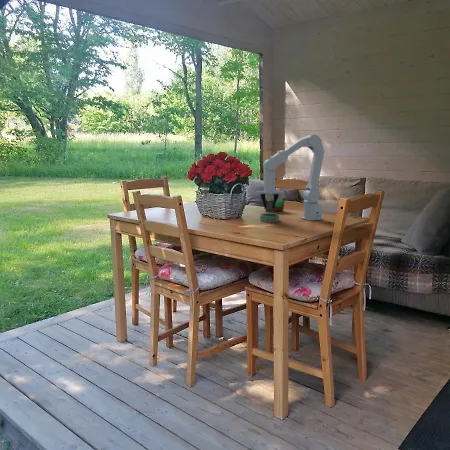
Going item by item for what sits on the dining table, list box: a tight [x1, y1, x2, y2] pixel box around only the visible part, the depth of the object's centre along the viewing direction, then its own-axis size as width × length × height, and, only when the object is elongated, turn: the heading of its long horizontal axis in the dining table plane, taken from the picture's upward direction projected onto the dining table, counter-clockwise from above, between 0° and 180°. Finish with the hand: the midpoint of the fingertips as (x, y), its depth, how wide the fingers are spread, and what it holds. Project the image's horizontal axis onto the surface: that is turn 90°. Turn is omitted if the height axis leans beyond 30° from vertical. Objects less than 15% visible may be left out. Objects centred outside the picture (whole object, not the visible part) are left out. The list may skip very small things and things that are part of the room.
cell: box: [265, 199, 274, 213], centre depth 244 cm, size 4×4×6 cm
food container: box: [265, 193, 287, 213], centre depth 272 cm, size 12×6×10 cm, turn 73°
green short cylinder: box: [259, 212, 280, 223], centre depth 245 cm, size 10×10×3 cm
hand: (269, 208), depth 244 cm, fingers closed on cell, 4 cm apart
